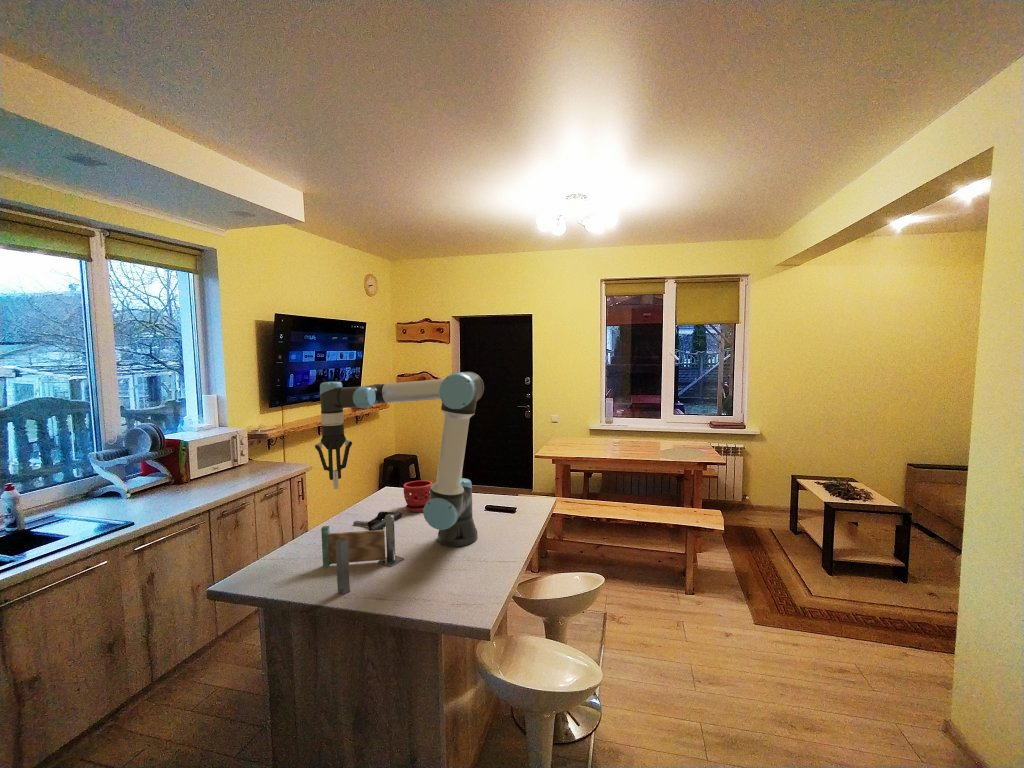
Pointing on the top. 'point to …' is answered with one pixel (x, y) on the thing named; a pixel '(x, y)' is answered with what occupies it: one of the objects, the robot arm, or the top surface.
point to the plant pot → (417, 495)
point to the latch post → (342, 566)
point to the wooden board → (354, 545)
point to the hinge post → (390, 543)
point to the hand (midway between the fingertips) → (335, 487)
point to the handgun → (378, 521)
